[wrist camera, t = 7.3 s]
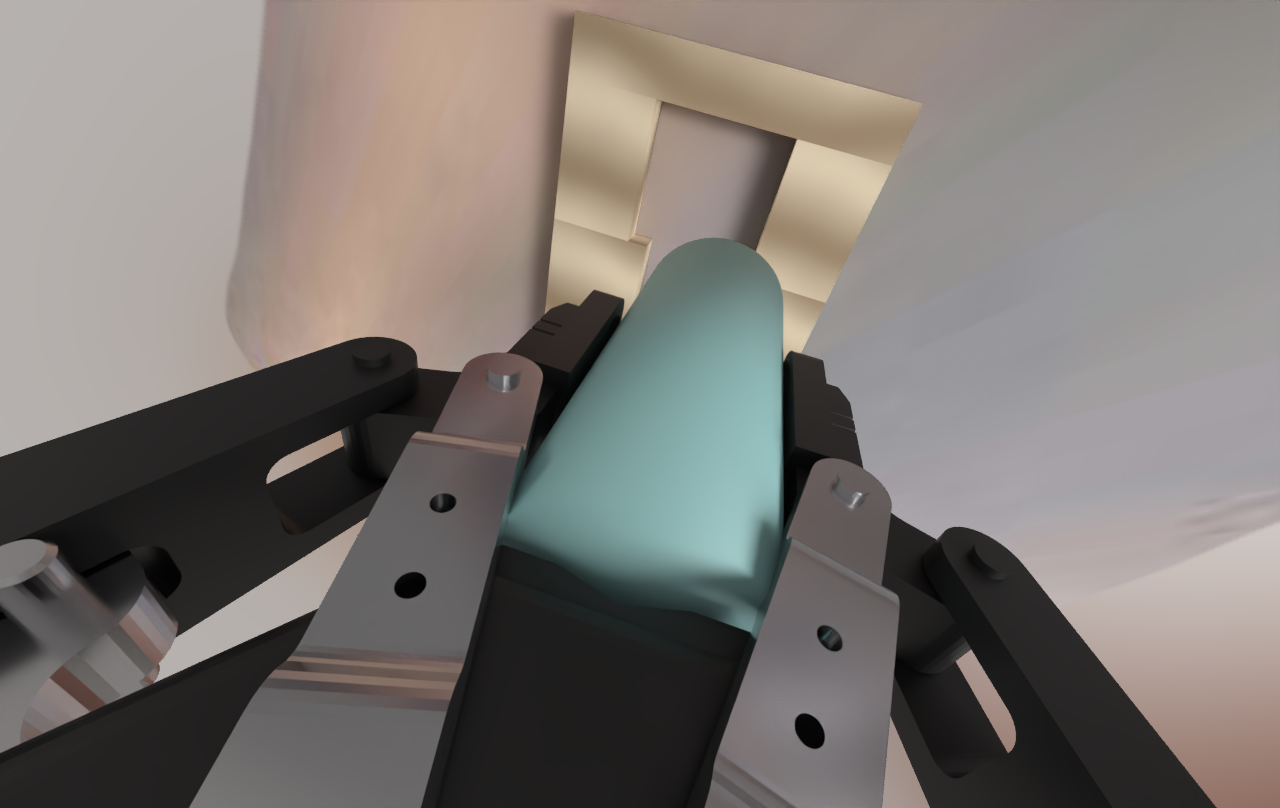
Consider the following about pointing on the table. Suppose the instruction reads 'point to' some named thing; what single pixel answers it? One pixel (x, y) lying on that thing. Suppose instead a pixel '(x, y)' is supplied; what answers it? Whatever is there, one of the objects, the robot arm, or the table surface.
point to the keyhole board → (731, 89)
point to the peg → (672, 446)
